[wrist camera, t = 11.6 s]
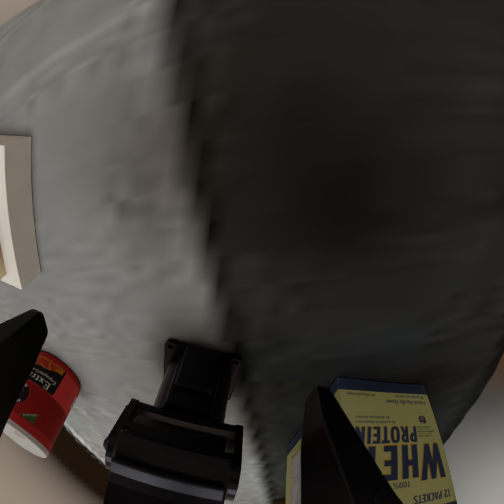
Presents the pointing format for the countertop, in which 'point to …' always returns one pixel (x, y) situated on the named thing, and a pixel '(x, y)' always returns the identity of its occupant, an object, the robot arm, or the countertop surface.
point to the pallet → (2, 265)
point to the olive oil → (280, 501)
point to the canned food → (43, 405)
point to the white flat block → (17, 212)
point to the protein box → (389, 440)
